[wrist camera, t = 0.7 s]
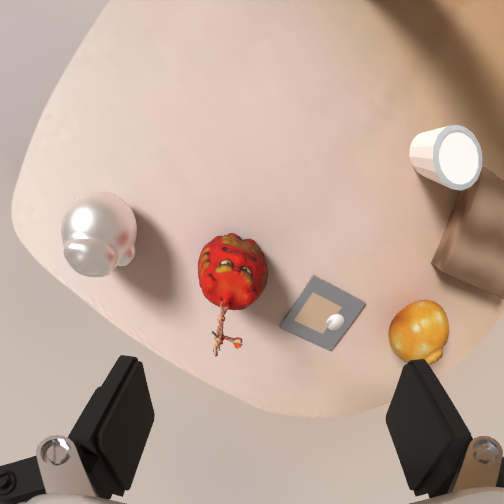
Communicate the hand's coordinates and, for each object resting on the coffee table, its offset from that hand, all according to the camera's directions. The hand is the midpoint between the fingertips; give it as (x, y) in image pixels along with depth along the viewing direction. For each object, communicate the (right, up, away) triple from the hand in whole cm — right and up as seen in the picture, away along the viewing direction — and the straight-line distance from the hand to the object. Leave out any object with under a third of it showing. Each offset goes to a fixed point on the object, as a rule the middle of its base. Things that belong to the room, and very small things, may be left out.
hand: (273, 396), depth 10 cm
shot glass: (+20, +17, +23) cm, 35 cm away
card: (+8, -3, +29) cm, 30 cm away
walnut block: (+31, +8, +26) cm, 41 cm away
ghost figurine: (-17, +8, +27) cm, 33 cm away
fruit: (+20, -4, +29) cm, 36 cm away
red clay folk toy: (-3, +4, +28) cm, 28 cm away
